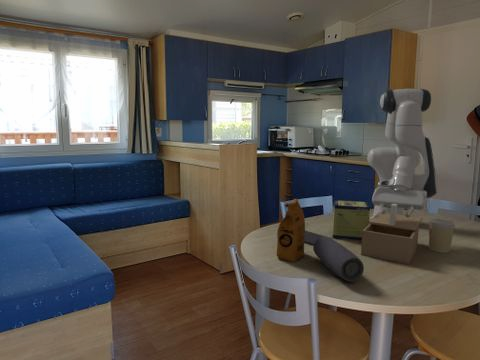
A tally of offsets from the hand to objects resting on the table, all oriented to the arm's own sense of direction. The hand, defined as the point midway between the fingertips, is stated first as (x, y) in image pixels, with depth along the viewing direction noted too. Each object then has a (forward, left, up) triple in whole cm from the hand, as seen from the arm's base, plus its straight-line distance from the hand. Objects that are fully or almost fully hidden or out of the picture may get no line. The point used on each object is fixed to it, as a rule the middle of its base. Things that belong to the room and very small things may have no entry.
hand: (395, 215), depth 156 cm
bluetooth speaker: (+34, -13, -15) cm, 39 cm away
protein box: (-10, -21, -15) cm, 28 cm away
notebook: (+4, -37, -16) cm, 40 cm away
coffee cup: (-13, +16, -15) cm, 26 cm away
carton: (+2, -1, -15) cm, 15 cm away
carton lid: (-8, -1, -5) cm, 10 cm away
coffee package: (+29, -33, -15) cm, 46 cm away
